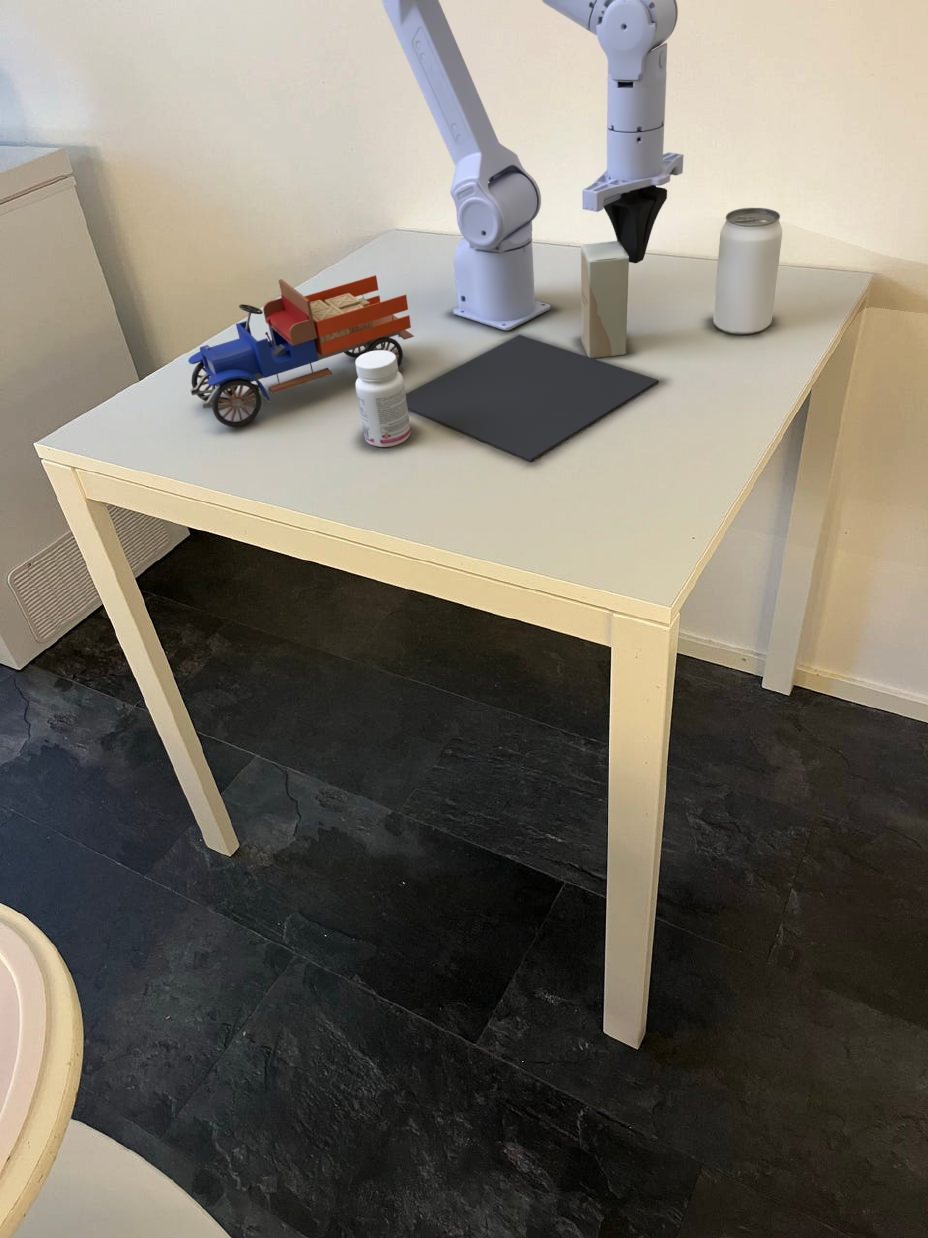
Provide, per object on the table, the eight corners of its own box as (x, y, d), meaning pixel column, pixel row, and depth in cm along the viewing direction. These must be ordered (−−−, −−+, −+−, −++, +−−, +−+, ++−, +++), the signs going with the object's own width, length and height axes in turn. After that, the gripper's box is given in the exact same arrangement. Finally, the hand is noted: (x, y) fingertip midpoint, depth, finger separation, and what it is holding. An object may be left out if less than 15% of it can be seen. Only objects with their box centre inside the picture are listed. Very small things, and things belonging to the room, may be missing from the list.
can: (772, 335, 107) (786, 225, 99) (712, 335, 108) (721, 226, 101) (770, 311, 112) (783, 205, 104) (712, 312, 113) (721, 206, 105)
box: (580, 340, 111) (579, 243, 103) (617, 335, 111) (619, 238, 103) (589, 360, 106) (588, 260, 99) (627, 355, 107) (629, 255, 99)
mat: (392, 403, 103) (392, 400, 103) (519, 336, 113) (519, 334, 113) (530, 462, 91) (530, 459, 91) (658, 382, 101) (658, 379, 101)
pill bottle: (418, 426, 98) (407, 349, 93) (401, 450, 95) (389, 371, 90) (375, 422, 100) (363, 346, 94) (357, 446, 97) (343, 368, 91)
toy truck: (191, 407, 106) (162, 311, 99) (391, 343, 115) (378, 249, 108) (216, 438, 101) (187, 337, 93) (424, 367, 109) (413, 270, 102)
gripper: (622, 148, 91) (620, 289, 100) (710, 111, 98) (701, 245, 107) (565, 139, 95) (568, 275, 104) (654, 104, 102) (650, 234, 111)
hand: (632, 259), depth 106 cm, fingers closed
